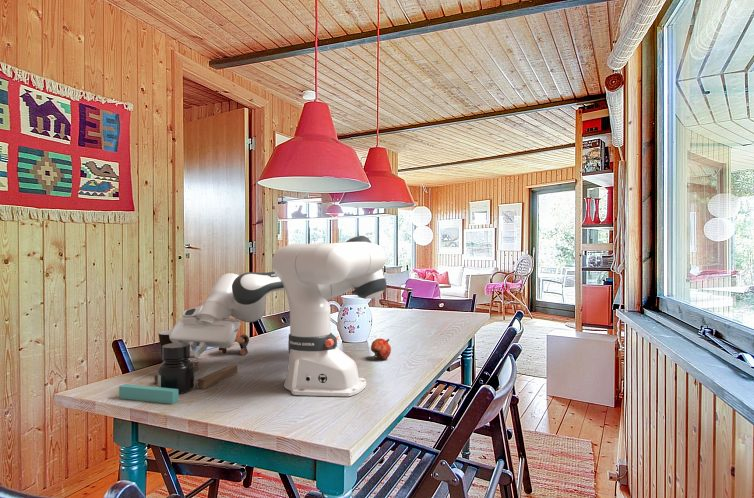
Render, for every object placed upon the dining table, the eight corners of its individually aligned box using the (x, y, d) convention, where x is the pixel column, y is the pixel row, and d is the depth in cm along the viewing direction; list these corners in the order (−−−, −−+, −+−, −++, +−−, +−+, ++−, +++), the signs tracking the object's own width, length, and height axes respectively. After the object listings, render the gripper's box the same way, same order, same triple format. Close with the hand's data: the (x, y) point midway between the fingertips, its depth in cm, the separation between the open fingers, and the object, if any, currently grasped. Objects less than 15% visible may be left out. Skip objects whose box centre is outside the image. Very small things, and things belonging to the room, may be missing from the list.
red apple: (380, 369, 149) (401, 348, 152) (366, 352, 148) (388, 332, 151) (372, 366, 156) (392, 346, 159) (359, 350, 155) (379, 330, 158)
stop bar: (178, 401, 111) (178, 389, 111) (172, 404, 109) (172, 391, 109) (125, 395, 116) (125, 383, 116) (119, 398, 114) (119, 386, 114)
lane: (237, 373, 136) (237, 364, 136) (204, 389, 121) (204, 379, 121) (192, 369, 141) (192, 361, 141) (154, 384, 125) (154, 375, 125)
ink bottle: (172, 383, 126) (172, 340, 126) (201, 385, 124) (201, 341, 124) (149, 395, 116) (149, 348, 116) (180, 397, 115) (180, 349, 115)
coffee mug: (176, 366, 144) (176, 335, 144) (152, 364, 146) (152, 334, 146) (197, 357, 155) (197, 328, 155) (175, 356, 157) (175, 327, 157)
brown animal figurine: (238, 359, 155) (226, 339, 155) (221, 368, 159) (209, 348, 159) (259, 344, 166) (248, 324, 165) (243, 352, 170) (232, 333, 170)
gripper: (246, 325, 138) (228, 365, 128) (188, 322, 143) (167, 361, 134) (238, 313, 133) (219, 353, 124) (179, 310, 139) (156, 349, 129)
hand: (191, 357), depth 129 cm, fingers closed
